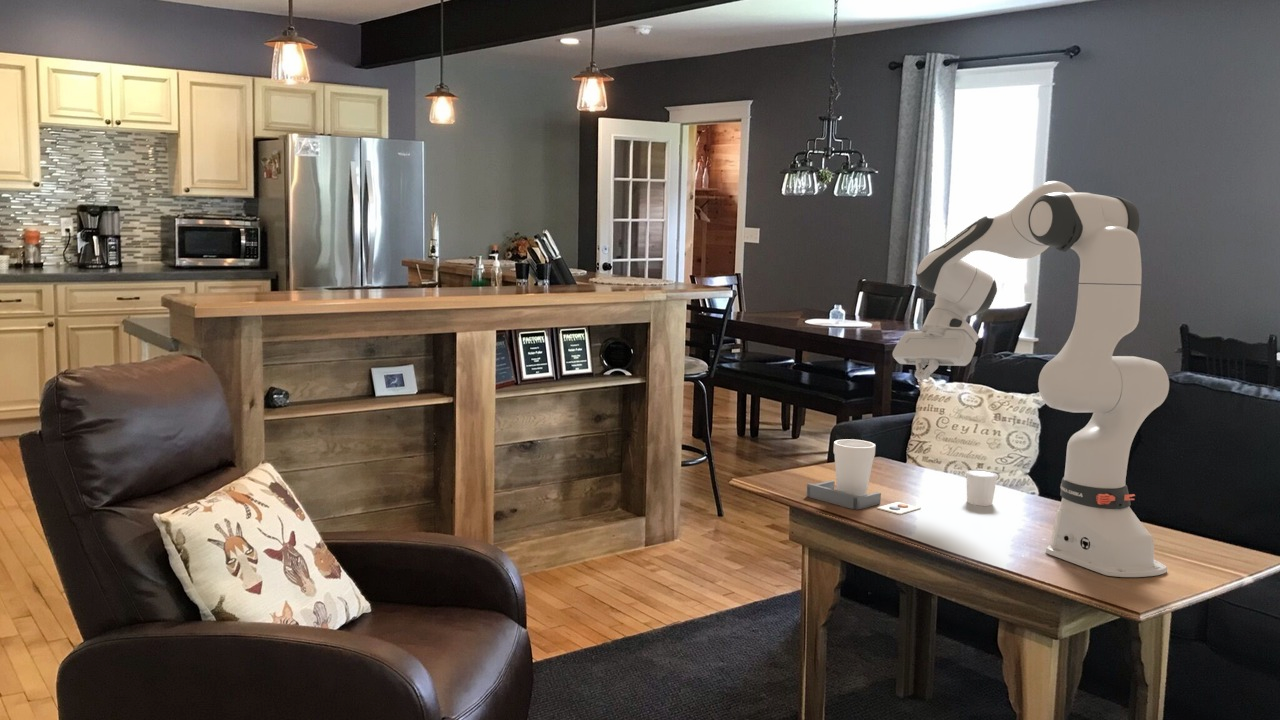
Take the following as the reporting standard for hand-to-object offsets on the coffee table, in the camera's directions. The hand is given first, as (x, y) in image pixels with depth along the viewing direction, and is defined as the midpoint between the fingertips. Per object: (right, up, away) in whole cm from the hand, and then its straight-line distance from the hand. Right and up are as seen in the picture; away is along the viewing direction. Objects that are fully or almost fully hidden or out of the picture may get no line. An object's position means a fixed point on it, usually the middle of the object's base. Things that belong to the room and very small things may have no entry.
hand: (920, 378), depth 247 cm
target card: (-8, -29, -11) cm, 32 cm away
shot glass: (+13, -29, -3) cm, 32 cm away
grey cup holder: (-19, -28, -5) cm, 34 cm away
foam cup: (-17, -28, -3) cm, 33 cm away
